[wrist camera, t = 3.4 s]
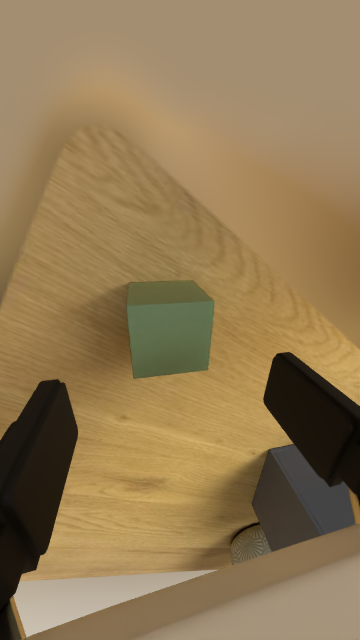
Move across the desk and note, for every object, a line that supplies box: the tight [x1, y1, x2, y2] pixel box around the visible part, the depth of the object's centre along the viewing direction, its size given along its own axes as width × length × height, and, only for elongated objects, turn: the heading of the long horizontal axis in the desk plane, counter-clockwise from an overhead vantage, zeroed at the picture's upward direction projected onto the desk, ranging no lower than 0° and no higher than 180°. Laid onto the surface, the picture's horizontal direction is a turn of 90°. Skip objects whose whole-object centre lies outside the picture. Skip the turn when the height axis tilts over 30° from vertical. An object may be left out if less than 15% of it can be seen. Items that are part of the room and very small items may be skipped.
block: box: [126, 281, 214, 379], centre depth 14 cm, size 5×5×5 cm
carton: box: [252, 444, 355, 552], centre depth 29 cm, size 15×13×10 cm
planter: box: [230, 524, 271, 565], centre depth 36 cm, size 12×12×11 cm
